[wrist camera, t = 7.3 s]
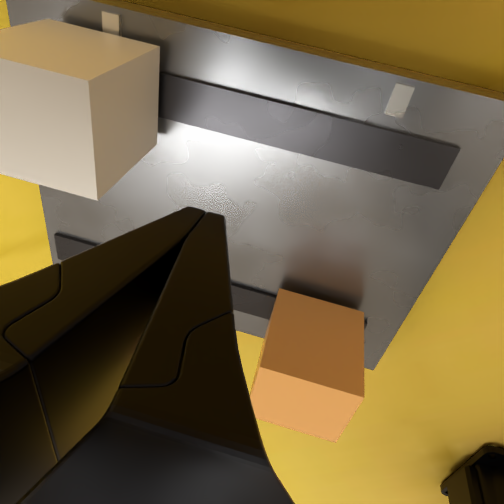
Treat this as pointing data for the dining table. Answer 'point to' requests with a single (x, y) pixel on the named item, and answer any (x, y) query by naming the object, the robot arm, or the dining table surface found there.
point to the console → (292, 164)
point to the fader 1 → (75, 105)
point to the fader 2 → (310, 366)
